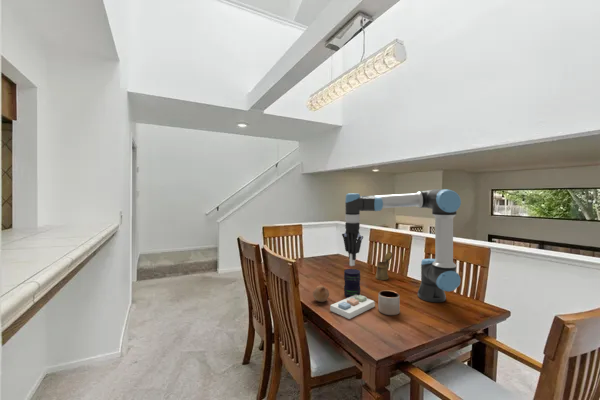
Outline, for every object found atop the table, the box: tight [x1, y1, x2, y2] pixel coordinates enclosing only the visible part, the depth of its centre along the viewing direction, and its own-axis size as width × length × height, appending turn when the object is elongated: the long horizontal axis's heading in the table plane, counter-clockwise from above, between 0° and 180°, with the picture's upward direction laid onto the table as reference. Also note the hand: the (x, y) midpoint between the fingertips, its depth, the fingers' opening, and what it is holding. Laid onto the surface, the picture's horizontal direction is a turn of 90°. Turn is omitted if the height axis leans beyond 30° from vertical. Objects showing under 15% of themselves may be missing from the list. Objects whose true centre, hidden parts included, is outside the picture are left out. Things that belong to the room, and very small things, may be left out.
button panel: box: [329, 295, 376, 320], centre depth 154 cm, size 13×22×3 cm, turn 131°
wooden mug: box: [375, 251, 393, 281], centre depth 204 cm, size 9×14×18 cm, turn 118°
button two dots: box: [355, 294, 368, 302], centre depth 159 cm, size 5×5×3 cm
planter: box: [377, 289, 401, 316], centre depth 150 cm, size 11×11×10 cm
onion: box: [312, 285, 330, 303], centre depth 165 cm, size 10×9×10 cm
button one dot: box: [338, 302, 351, 310], centre depth 150 cm, size 5×5×3 cm
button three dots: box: [347, 298, 359, 306], centre depth 154 cm, size 5×5×3 cm
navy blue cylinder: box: [343, 268, 361, 298], centre depth 173 cm, size 10×10×15 cm
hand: (352, 265), depth 153 cm, fingers closed
